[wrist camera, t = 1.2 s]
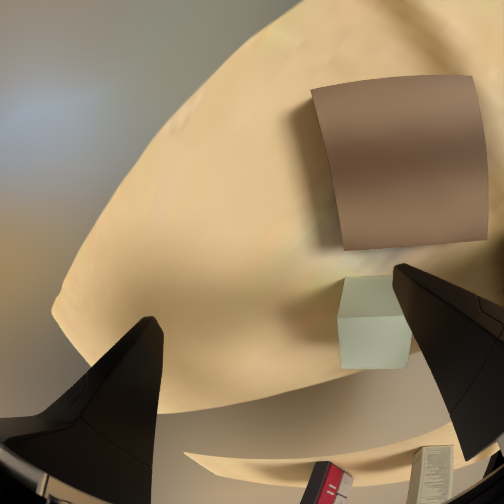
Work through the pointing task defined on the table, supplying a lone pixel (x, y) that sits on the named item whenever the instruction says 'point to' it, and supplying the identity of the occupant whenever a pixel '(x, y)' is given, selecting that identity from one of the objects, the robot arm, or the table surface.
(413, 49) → the table surface
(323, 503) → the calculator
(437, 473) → the skincare box
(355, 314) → the sage cube
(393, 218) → the walnut block
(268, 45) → the table surface
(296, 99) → the table surface
